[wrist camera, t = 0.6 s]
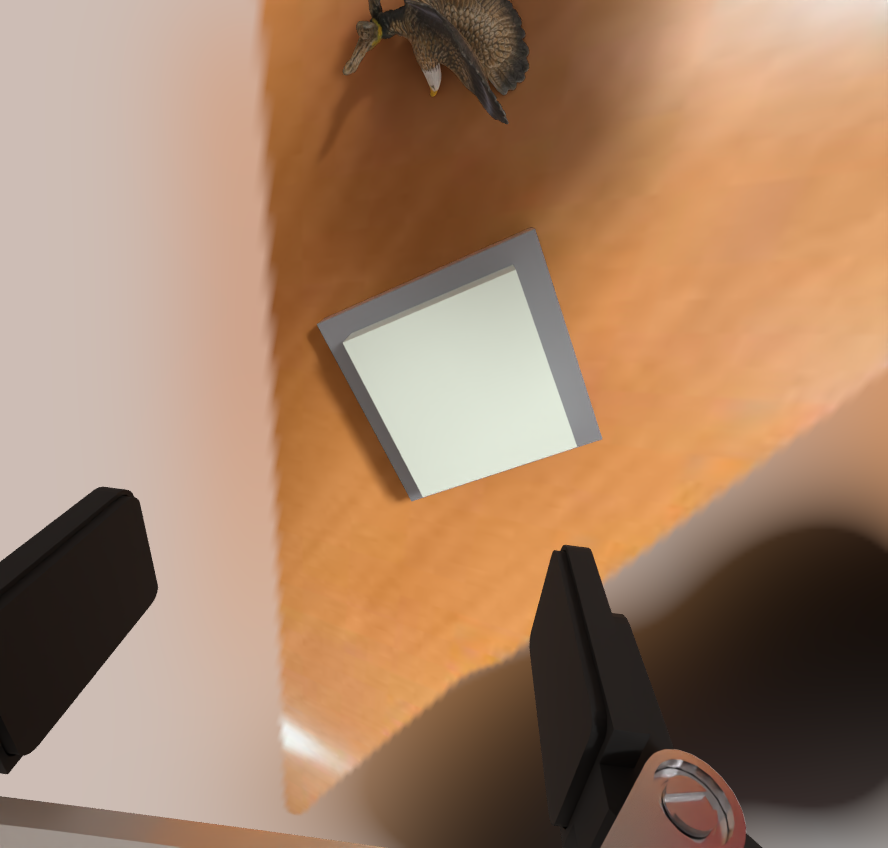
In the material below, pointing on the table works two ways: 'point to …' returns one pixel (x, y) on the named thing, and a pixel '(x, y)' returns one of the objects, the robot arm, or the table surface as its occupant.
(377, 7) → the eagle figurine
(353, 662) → the table surface
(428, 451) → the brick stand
